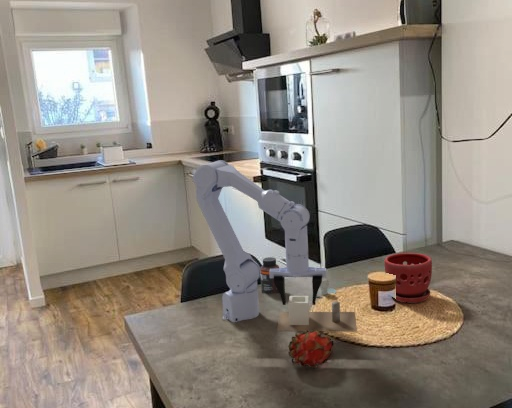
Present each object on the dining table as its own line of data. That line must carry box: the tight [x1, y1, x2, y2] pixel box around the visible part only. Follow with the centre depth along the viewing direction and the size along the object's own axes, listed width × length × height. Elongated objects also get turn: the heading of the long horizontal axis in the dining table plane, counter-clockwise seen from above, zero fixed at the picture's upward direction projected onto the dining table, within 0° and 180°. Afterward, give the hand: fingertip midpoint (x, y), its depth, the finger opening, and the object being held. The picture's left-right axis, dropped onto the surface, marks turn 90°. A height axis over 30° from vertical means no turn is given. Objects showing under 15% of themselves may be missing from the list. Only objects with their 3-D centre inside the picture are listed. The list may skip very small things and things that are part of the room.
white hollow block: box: [288, 295, 310, 325], centre depth 138 cm, size 5×5×6 cm
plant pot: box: [384, 252, 433, 304], centre depth 153 cm, size 13×13×12 cm
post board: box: [276, 301, 358, 332], centre depth 138 cm, size 20×12×6 cm, turn 83°
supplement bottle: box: [260, 256, 280, 294], centre depth 162 cm, size 6×6×11 cm
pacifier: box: [316, 278, 337, 299], centre depth 157 cm, size 7×6×6 cm
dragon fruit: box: [287, 331, 334, 369], centre depth 119 cm, size 8×8×12 cm
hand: (299, 303), depth 138 cm, fingers open, 7 cm apart
